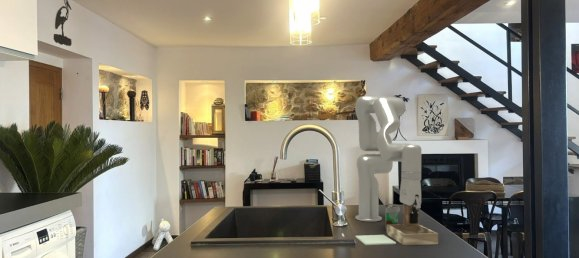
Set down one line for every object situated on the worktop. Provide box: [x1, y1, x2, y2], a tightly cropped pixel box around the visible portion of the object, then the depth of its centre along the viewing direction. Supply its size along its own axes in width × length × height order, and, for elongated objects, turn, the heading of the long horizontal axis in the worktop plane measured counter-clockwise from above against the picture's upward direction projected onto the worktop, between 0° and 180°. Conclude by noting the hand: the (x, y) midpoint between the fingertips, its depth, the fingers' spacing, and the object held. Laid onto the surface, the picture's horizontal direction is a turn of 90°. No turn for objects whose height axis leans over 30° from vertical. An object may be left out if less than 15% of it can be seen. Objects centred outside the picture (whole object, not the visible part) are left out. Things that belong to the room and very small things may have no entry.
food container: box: [384, 203, 401, 232], centre depth 177 cm, size 12×6×10 cm, turn 168°
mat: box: [355, 234, 397, 246], centre depth 157 cm, size 12×12×1 cm
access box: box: [386, 223, 439, 246], centre depth 160 cm, size 17×14×4 cm
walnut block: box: [402, 203, 420, 227], centre depth 160 cm, size 4×4×8 cm
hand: (410, 221), depth 160 cm, fingers closed on walnut block, 4 cm apart
